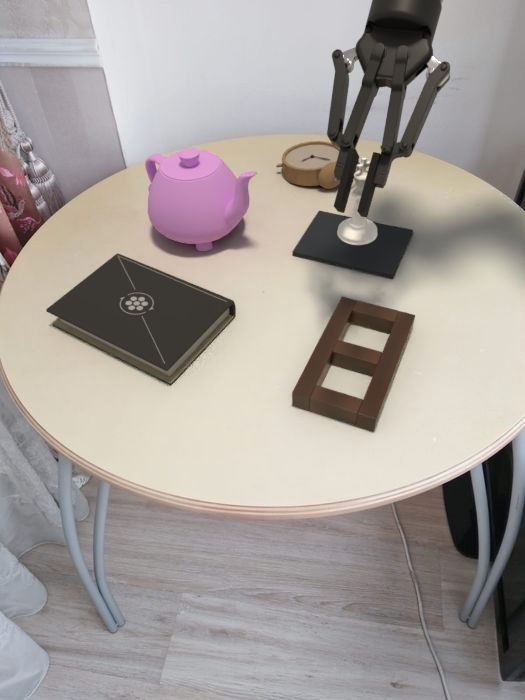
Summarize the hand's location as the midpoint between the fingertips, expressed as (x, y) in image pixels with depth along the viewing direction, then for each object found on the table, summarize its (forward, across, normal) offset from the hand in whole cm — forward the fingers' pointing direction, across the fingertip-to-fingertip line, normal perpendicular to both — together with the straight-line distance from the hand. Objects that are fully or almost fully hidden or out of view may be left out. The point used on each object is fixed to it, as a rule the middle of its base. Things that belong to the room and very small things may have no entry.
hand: (350, 211), depth 63 cm
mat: (0, +4, -26) cm, 26 cm away
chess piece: (+1, 0, -7) cm, 7 cm away
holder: (+17, -4, -9) cm, 20 cm away
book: (+19, +26, -7) cm, 33 cm away
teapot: (+4, +28, -22) cm, 36 cm away
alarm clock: (-12, +16, -39) cm, 44 cm away
